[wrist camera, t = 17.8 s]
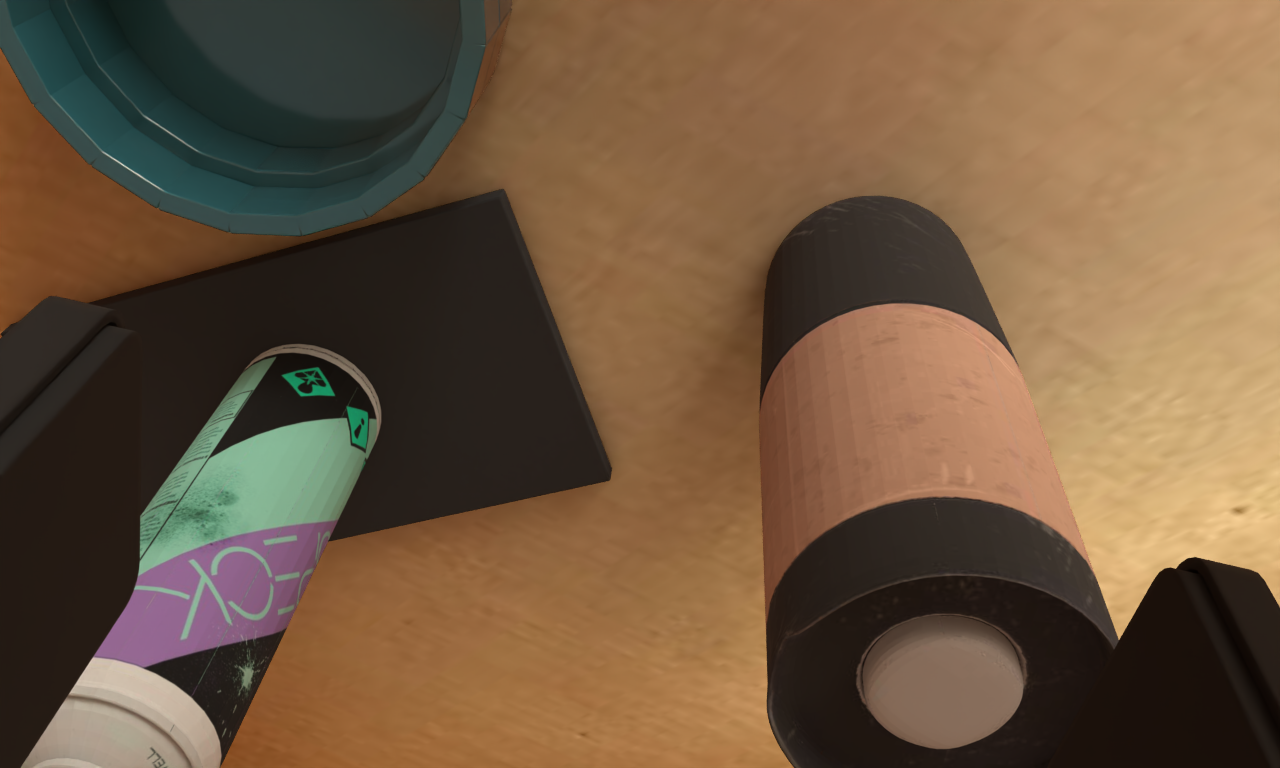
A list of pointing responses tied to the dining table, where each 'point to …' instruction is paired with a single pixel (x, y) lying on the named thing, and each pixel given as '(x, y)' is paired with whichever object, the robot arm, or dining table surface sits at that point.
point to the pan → (257, 98)
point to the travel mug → (911, 511)
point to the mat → (386, 359)
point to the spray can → (221, 568)
